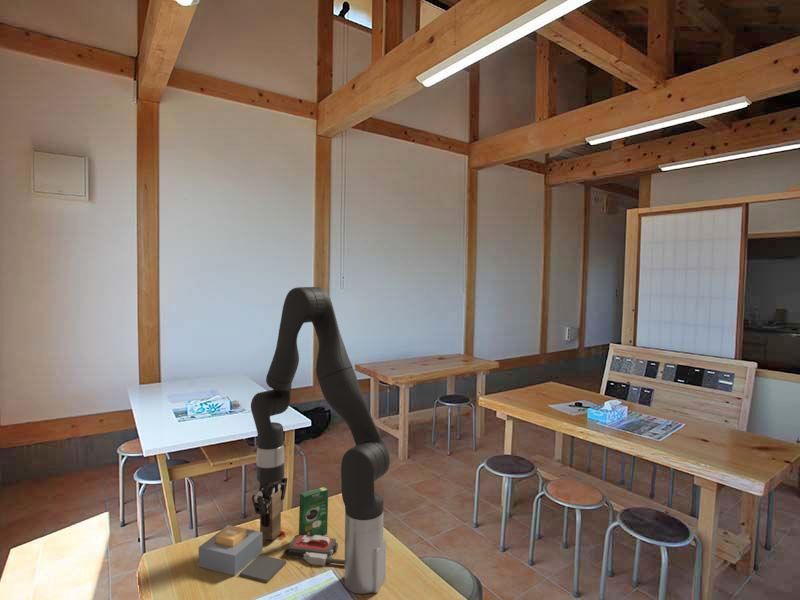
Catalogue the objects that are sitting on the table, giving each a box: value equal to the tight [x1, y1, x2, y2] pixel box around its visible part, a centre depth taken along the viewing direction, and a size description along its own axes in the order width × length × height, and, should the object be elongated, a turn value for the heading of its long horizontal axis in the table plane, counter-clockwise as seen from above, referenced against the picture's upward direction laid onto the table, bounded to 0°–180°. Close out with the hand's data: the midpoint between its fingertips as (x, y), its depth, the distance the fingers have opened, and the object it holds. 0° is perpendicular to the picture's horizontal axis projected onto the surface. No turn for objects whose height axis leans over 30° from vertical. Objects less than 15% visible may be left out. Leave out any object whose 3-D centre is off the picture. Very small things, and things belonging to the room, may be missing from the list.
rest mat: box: [239, 554, 287, 583], centre depth 109 cm, size 8×8×1 cm
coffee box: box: [298, 486, 329, 536], centre depth 124 cm, size 8×3×13 cm, turn 129°
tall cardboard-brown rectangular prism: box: [259, 491, 282, 541], centre depth 123 cm, size 4×4×12 cm
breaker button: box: [216, 525, 248, 548], centre depth 113 cm, size 5×5×4 cm
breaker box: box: [198, 524, 263, 577], centre depth 114 cm, size 11×11×5 cm
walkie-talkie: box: [283, 534, 345, 567], centre depth 116 cm, size 9×4×20 cm
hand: (270, 521), depth 123 cm, fingers closed on tall cardboard-brown rectangular prism, 4 cm apart
